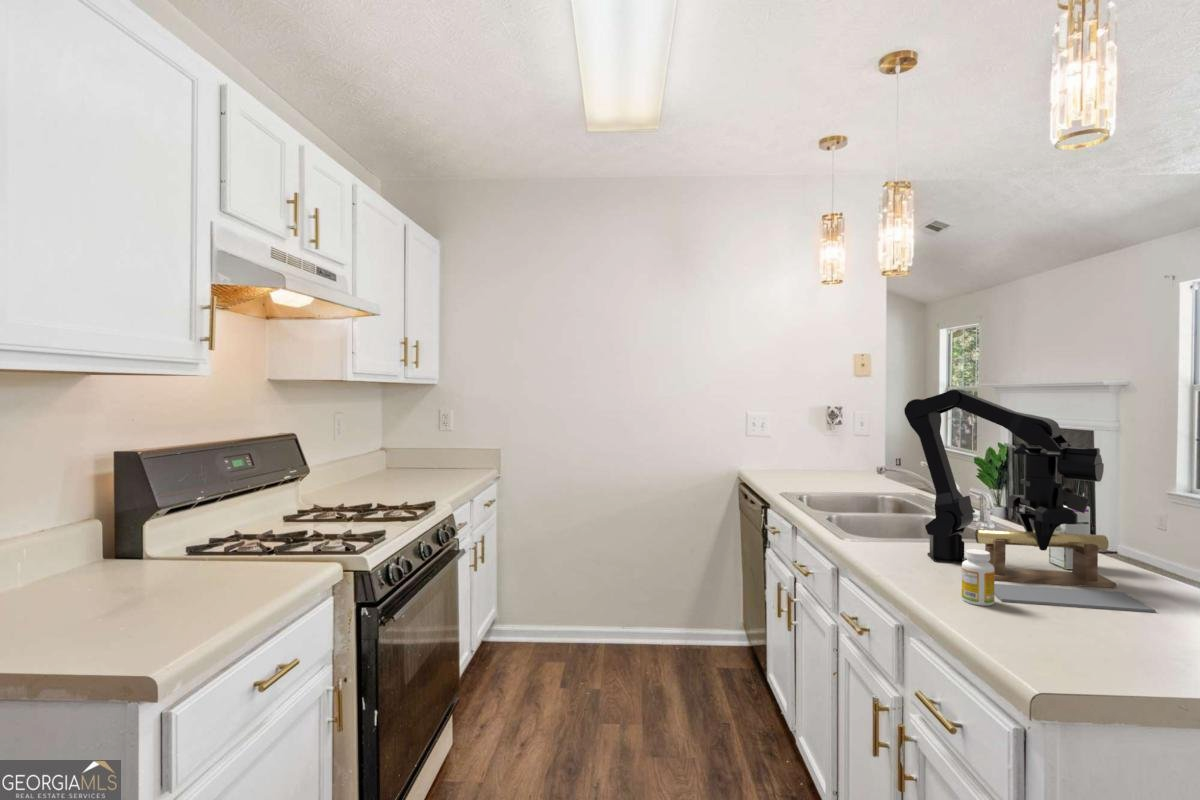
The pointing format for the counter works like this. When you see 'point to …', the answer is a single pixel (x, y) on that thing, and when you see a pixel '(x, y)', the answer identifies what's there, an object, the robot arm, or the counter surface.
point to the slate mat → (1069, 597)
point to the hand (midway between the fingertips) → (1039, 548)
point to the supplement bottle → (978, 578)
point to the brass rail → (1030, 540)
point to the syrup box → (1065, 555)
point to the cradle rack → (1081, 575)
